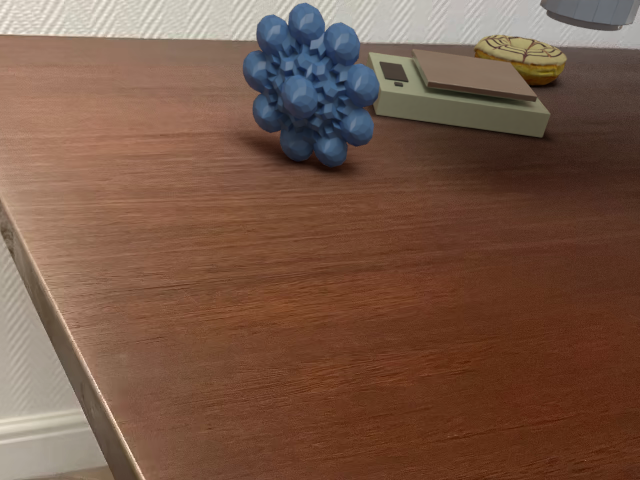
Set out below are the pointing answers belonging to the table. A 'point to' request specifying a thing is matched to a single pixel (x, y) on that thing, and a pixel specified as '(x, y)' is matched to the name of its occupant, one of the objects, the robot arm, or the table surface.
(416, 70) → the scale
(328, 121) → the blue knobbed flower
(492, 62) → the scale pan
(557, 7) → the cup
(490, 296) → the table surface
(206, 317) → the table surface
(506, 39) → the decorated donut
